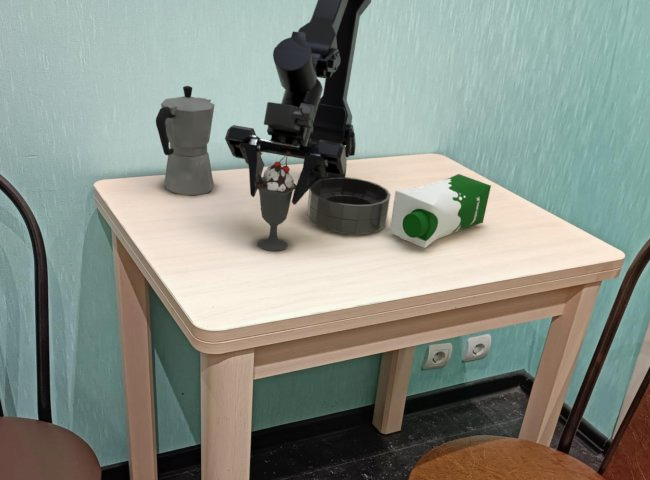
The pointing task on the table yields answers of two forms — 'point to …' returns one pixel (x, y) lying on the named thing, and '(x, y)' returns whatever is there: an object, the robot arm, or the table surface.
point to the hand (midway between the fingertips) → (272, 199)
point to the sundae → (275, 201)
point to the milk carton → (438, 209)
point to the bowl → (348, 205)
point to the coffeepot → (186, 143)
